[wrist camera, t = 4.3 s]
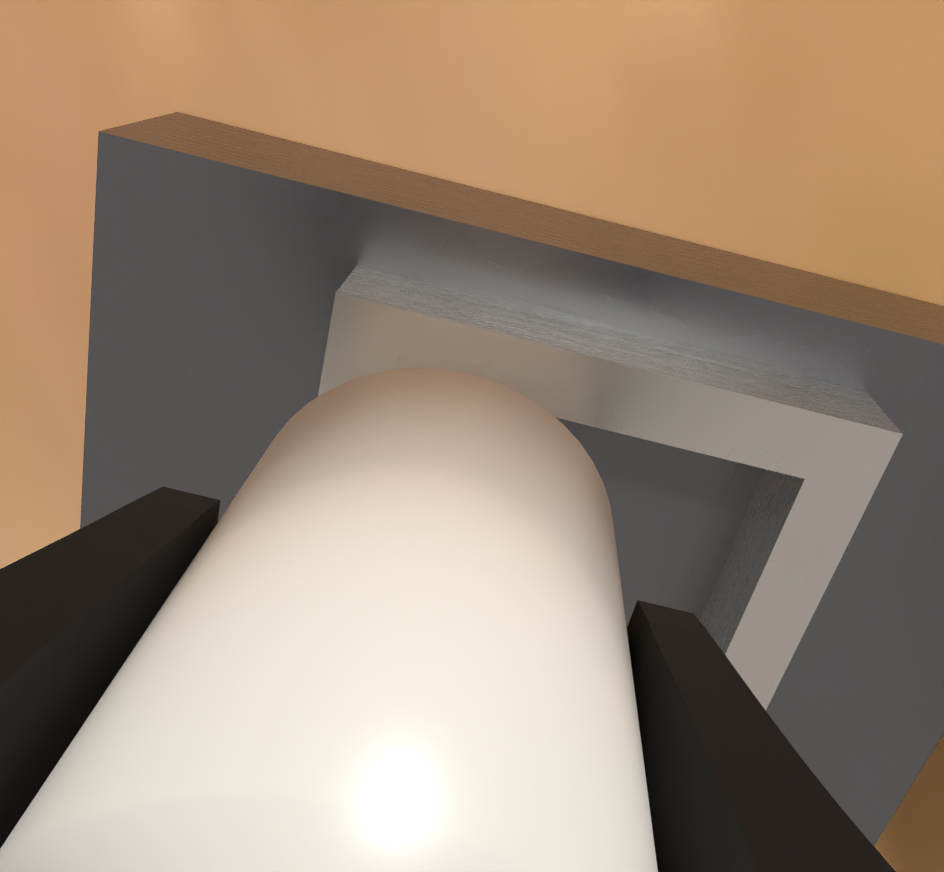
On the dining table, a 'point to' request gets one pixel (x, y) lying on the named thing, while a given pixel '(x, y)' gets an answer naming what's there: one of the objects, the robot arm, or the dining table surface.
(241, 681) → the white capped cylinder
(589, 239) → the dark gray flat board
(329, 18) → the dining table surface
